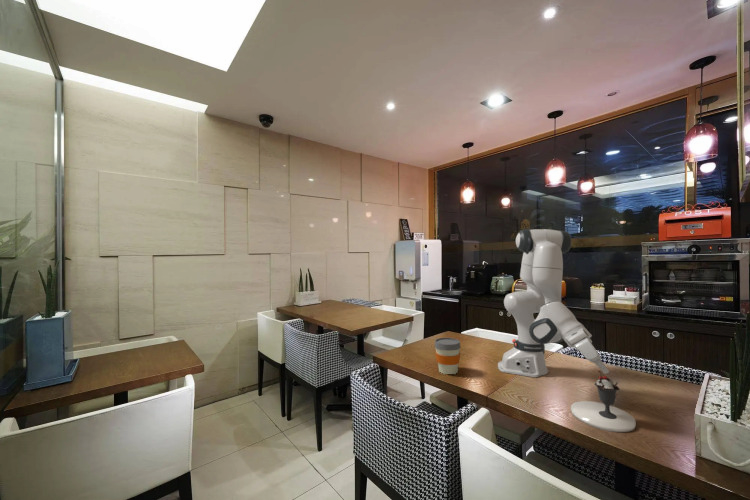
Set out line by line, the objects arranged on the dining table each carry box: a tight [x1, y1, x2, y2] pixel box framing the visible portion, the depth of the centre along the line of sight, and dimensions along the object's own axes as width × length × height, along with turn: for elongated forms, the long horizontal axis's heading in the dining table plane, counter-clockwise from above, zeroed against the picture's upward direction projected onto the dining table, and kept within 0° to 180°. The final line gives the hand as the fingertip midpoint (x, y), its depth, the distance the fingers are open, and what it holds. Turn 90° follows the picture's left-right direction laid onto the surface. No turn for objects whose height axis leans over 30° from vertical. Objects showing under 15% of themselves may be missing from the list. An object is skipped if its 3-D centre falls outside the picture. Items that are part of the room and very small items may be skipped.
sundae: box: [594, 370, 620, 419], centre depth 104 cm, size 7×7×15 cm
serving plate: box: [570, 400, 637, 433], centre depth 105 cm, size 18×18×1 cm
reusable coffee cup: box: [434, 337, 461, 375], centre depth 149 cm, size 13×12×15 cm
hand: (607, 372), depth 107 cm, fingers open, 8 cm apart
